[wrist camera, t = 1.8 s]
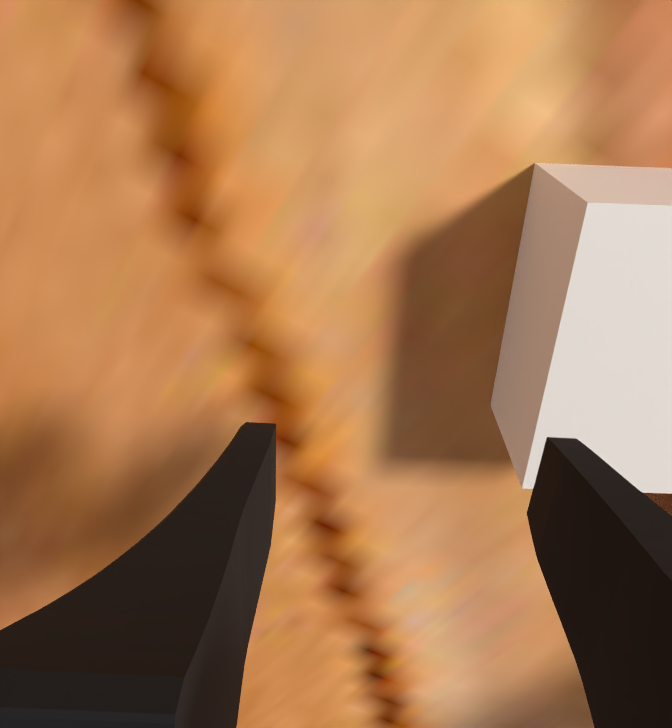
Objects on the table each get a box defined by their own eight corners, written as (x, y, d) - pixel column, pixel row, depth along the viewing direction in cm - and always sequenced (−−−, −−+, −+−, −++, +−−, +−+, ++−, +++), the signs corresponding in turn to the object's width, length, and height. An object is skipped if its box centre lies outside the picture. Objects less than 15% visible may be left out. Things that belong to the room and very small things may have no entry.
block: (618, 407, 24) (680, 494, 20) (489, 403, 24) (522, 488, 20) (691, 168, 20) (790, 210, 15) (533, 161, 20) (587, 202, 15)
